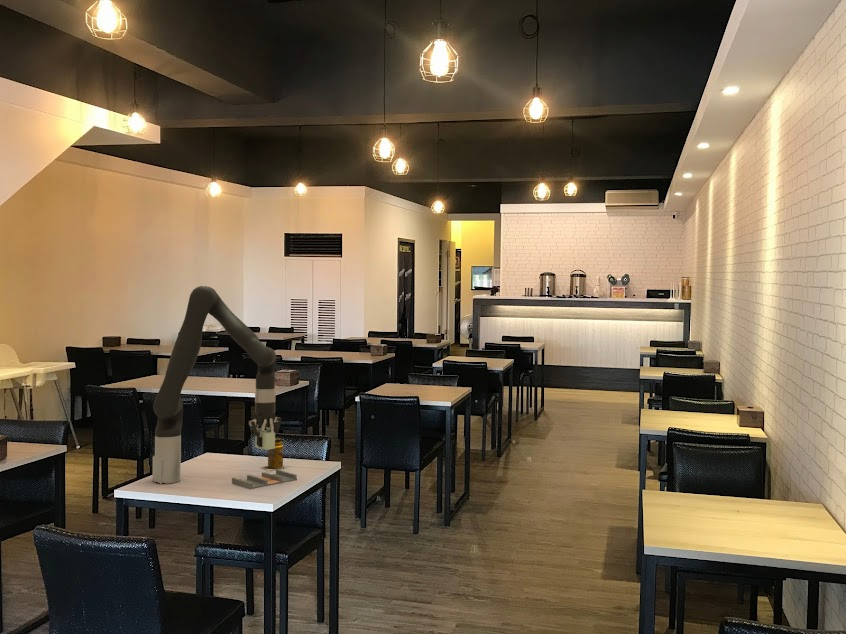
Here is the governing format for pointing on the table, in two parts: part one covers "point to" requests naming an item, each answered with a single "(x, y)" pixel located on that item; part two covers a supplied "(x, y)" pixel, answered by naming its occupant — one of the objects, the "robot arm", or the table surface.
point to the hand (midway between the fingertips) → (265, 445)
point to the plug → (267, 440)
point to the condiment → (275, 456)
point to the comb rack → (265, 479)
